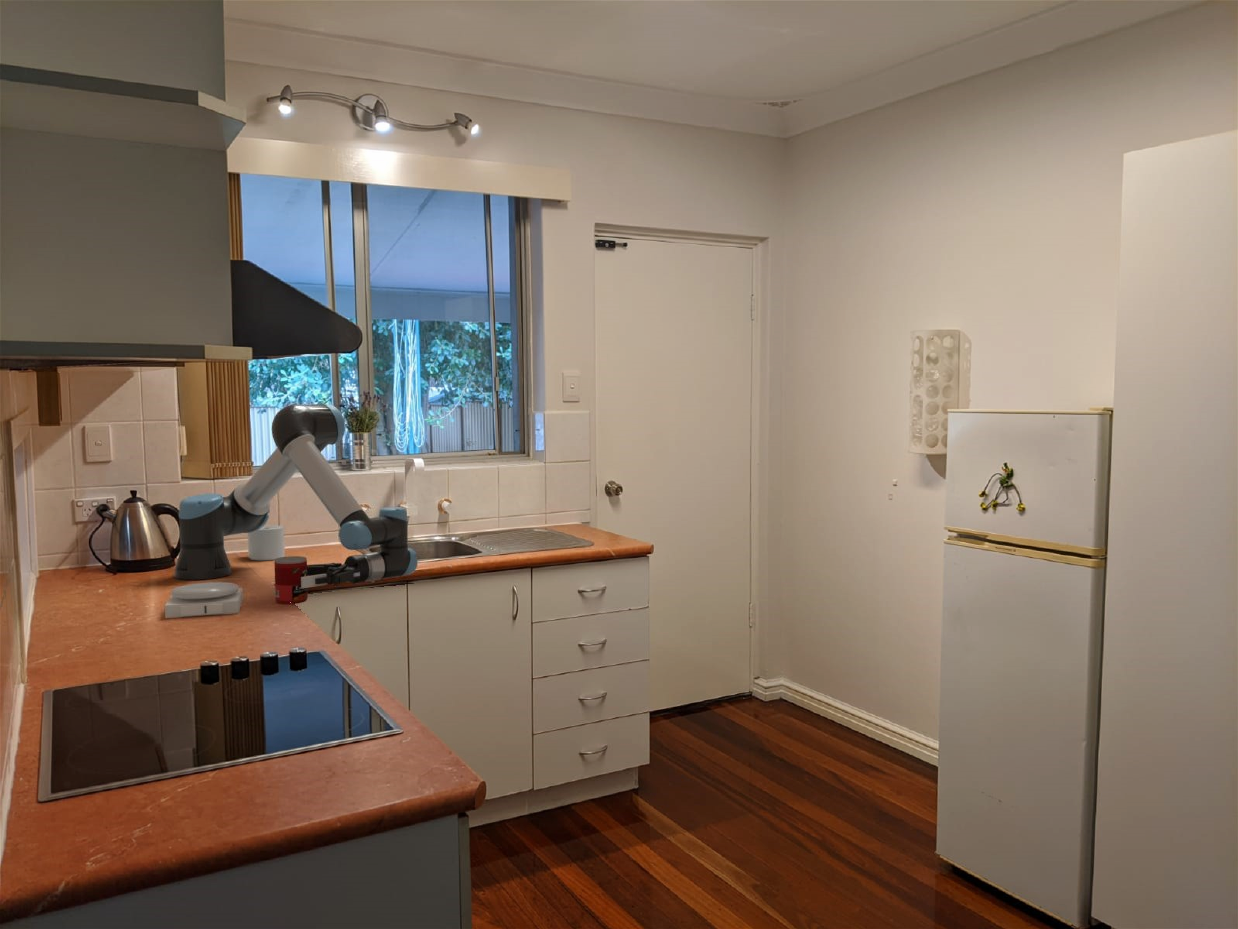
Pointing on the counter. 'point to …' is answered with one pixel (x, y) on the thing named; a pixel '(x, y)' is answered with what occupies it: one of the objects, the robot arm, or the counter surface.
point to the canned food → (290, 579)
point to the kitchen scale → (204, 600)
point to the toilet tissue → (266, 543)
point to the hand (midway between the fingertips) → (288, 579)
